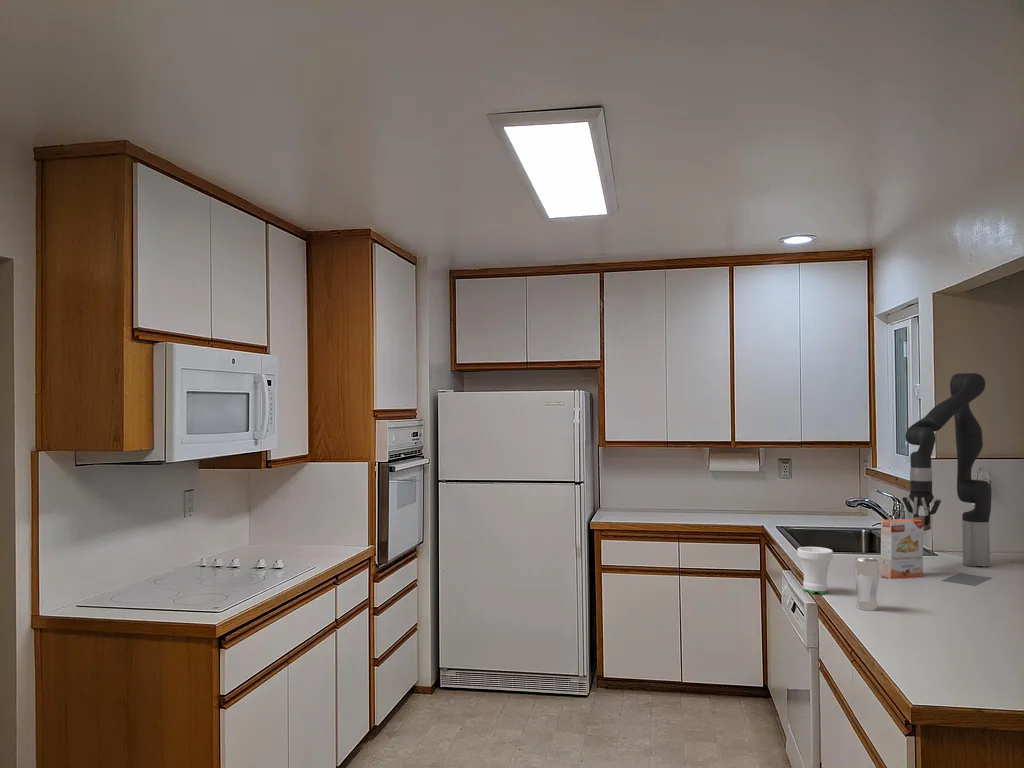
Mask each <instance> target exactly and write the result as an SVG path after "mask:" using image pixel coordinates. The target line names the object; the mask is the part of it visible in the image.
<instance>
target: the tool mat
mask: <svg viewBox="0 0 1024 768" xmlns="http://www.w3.org/2000/svg"><path fill="white" fill-rule="evenodd" d="M989 580H992V577H990V576H982V575H975V574H969V573H962V572H959V573H957V574H954V575H951V576H950V577H949V576H948V577H946V578H944V579H942V580H941V582H945V583H952V584H960V585H965V586H966V585H967V586H972V587H976V586H978V585H979V586H980V584H982V583H985V582H987V581H989Z"/></svg>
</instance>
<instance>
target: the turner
mask: <svg viewBox="0 0 1024 768" xmlns="http://www.w3.org/2000/svg"><path fill="white" fill-rule="evenodd" d="M912 519H917V520H921V521H923V535H924V534H927V533H928V531H930V530H931V529H932V515H931V516H930V524H929V525H928V526H927V525H925V515H919V517H915V518H913V517H912Z"/></svg>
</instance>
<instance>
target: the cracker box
mask: <svg viewBox="0 0 1024 768" xmlns="http://www.w3.org/2000/svg"><path fill="white" fill-rule="evenodd" d="M923 565H924V534H923V521H921V520H917V519H913V518H901V519H900V518H898V519H896V518H895V519H894V518H893V519H881V520H880V577H882V578H884V579H890V580H894V579H908V578H923V575H924V574H923V573H924V572H923V571H924V566H923Z"/></svg>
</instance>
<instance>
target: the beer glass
mask: <svg viewBox="0 0 1024 768" xmlns="http://www.w3.org/2000/svg"><path fill="white" fill-rule="evenodd" d="M879 566H880V565H879V560H878V559H877V558H872V557H856V558H854V581H855V587H856V591H857V602H856V608H857V609H858V610H861V611H867V612H872V611H873V612H875V611H878V608H879V607H878V601H877V595H878V594H877V593H878V589H879V582H880V568H879Z"/></svg>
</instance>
